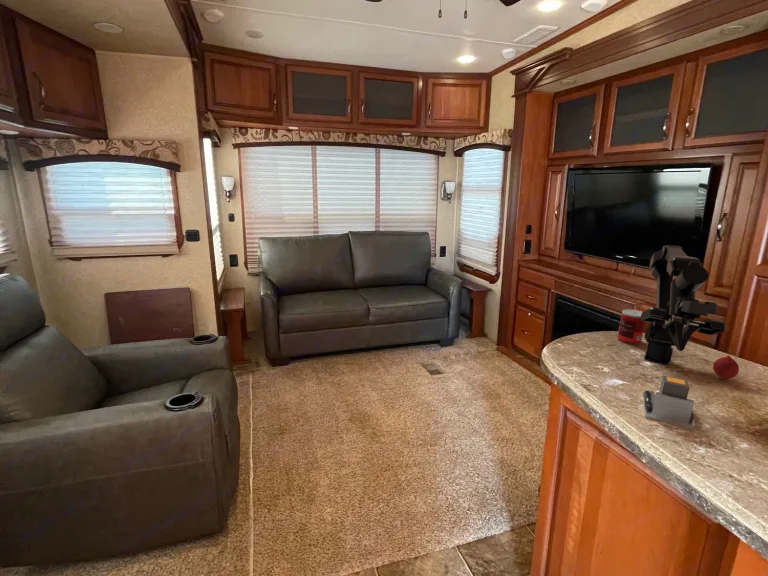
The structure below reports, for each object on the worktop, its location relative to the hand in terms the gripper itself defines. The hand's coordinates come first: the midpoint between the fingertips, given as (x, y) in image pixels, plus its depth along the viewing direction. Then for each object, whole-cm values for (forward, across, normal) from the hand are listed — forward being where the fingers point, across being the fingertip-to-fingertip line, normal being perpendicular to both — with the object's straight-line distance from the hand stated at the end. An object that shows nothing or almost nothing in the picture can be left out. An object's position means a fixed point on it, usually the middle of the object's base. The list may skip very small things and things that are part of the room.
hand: (680, 350), depth 107 cm
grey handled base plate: (+17, -3, -1) cm, 17 cm away
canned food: (-12, +3, +38) cm, 40 cm away
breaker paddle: (+18, -4, -4) cm, 19 cm away
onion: (+1, +20, +16) cm, 26 cm away
